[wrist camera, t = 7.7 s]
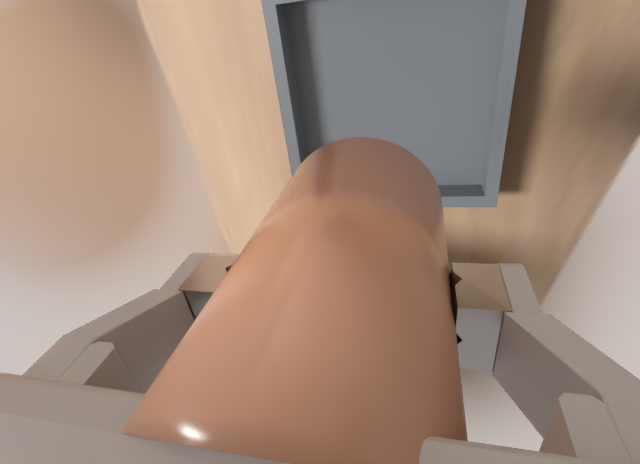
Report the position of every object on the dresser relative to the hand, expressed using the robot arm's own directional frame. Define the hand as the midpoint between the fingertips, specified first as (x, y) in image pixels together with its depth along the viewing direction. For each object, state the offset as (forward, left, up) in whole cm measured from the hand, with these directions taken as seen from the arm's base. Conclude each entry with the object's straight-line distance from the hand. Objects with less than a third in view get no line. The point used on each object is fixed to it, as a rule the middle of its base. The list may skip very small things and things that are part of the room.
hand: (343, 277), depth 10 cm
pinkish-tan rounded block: (0, 0, -4) cm, 4 cm away
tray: (0, 0, -19) cm, 19 cm away
